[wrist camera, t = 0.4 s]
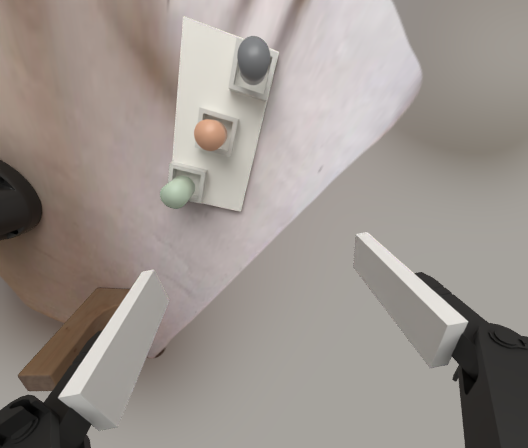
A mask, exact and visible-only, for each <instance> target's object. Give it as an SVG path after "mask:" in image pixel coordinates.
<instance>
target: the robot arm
mask: <svg viewBox="0 0 528 448" xmlns="http://www.w3.org/2000/svg"><path fill="white" fill-rule="evenodd" d="M40 218H41V204H40V201H39V198H38V196H37V194H36V192H35V190H34V189H33V187H32V186H31V185H30V184H29V182H28V181H27V180H26V179H25V178H24V177H23V176H22V175H21V174H20V173H19V172H17V171H16V170H15V169H13V168H12V167H11V166H9V165H8V164H6V163H4V162H3V161H1V160H0V240H4V239H9V238H13V237H16V236H19V235H21V234H23V233H25V232H27V231H29V230H31V229H32V228H34V227H35V226H36V225H37V224H38V222H39V220H40ZM354 252H355V253H354V265H353V266H354V269H355V270H356V271H357V273H358V274H359V275H360V277H361V278H362V279H363V281H364V282H365V283H366V285H367V286H368V287H369V289H370V290H371V291H372V293H373V294H374V295H375V296H376V298H377V299H378V300H379V302H380V303H381V304H382V306H383V307H384V308H385V309H386V311H387V312H388V314H389V315H390V316H391V318H392V319H393V320H394V321H395V323H396V324H397V325H398V327H399V328H400V329H401V331H402V332H403V333H404V335H405V336H406V337H407V339H408V340H409V341H410V343H411V344H412V345H413V346H414V348H415V349H416V350H417V352H418V353H419V354H420V356H421V357H422V358H423V360H424V361H425V362H426V364H427V365H428V366H429V368H434V367H439V366H445V365H448V363H449V361H450V359H451V357H453V358H454V359H455V360H456V361H457V363H458V364H459V366H458V368H457V370H456V371H455V374H454V375H453V380H454V381H457V379H458V377H459V388H460V398H461V408H462V417H463V429H464V439H465V448H528V337H525V336H521V335H519V334H518V333H516V332H514V331H512V330H511V329H509V328H506V327H504V326H501V325H497V324H492V323H488V322H487V321H485V320H484V319H483V318H482V317H480V316H479V315H478V314H477V313H475V312H474V311H473V310H472V309H471V308H469V307H468V306H467V305H466V304H465V303H463V302H462V301H461V300H460V299H458V298H457V297H456V296H455V295H452V293H451V292H450V291H449V290H447V289H446V288H444V287H443V285H441V284H440V283H439V282H438V281H436V280H435V279H434V278H432V277H430V276H428V275H426V274H424V273H422V272H419V273H413V272H412V271H411V270H410V269H408V268H407V267H406V266H405V265H404V264H403V263H402V262H400V261H399V260H398V259H397V258H396V257H395V256H394V255H393V254H391V253H390V252H389V251H388V250H387V249H386V248H385V247H384V246H382V245H381V244H380V243H379V242H378V241H377V240H376V239H374V238H373V237H372V236H371V235H370V234H369V233H368V232H365V233H360V234H356V237H355V251H354ZM169 301H170V300H169V298H168V296H167V294H166V292H165V290H164V288H163V286H162V284H161V282H160V280H159V278H158V276H157V274H156V272H155V270H149V271H144V272H142V273H141V274H140V276H139V277H138V279H137V280H136V282H135V283H134V285H133V286H132V288H131V289H130V291H129V292H128V294H127V295H126V297H125V298H124V300H123V301H122V303H121V304H120V306H119V307H118V309H117V310H116V312H115V313H114V315H113V316H112V318H111V319H110V321H109V322H108V324H107V325H106V327H105V328H104V330H101V331H98V332H97V333H96V334H95V335H93V336H92V337H91V338H90V339H89V340H88V341H87V342H86V344H85V345H84V347H83V348H82V350H81V351H80V352H79V355H77V357H76V358H75V359H74V361H73V362H72V365H70V366H69V368H68V369H67V371H66V372H65V374H64V375H63V376H62V378H61V379H60V381H59V382H58V383H57V385H56V386H55V388H54V389H53V390H52V392H51V393H50V395H49V396H48V398H47V399H46V400H45V402H44V403H43V402H42V401H40V400H39V399H38V398H36V397H35V396H33V395H26V396H22V397H20V398H18V399H16V400H14V401H12V402H11V403H9V404H8V405H7V406H5V407H4V408H3V409H1V410H0V448H91V447H90V440H89V438H88V436H87V435H86V434H87V432H88V430H89V428H90V426H91V425H92V426H93V427H95V428H96V429H97V430H98V431H101V430H106V429H111V428H116V427H118V425H119V423H120V420H121V418H122V415H123V413H124V410H125V408H126V406H127V403H128V401H129V398H130V396H131V393H132V391H133V389H134V386H135V384H136V381H137V379H138V376H139V374H140V371H141V369H142V366H143V364H144V362H145V359H146V357H147V354H148V352H149V349H150V347H151V345H152V342H153V340H154V337H155V335H156V332H157V330H158V328H159V325H160V323H161V320H162V318H163V315H164V313H165V310H166V308H167V306H168V303H169Z"/></svg>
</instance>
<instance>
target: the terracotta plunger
mask: <svg viewBox="0 0 528 448" xmlns="http://www.w3.org/2000/svg"><path fill="white" fill-rule="evenodd" d="M194 137H195V140H196V142H197V144H198V145H199V146H200V147H201V148H202V149H204V150H207V151H214V150H217V149H218V148H220V147H221V146H222V145H223V144H224V143H225V141H226V139H227V130H226V128H225V126H224V125H223V124H222V123H221V122H219V121H217V120H209V119H205V120H202V121H200V122H199V123H198V124H197V125H196V127H195V129H194Z"/></svg>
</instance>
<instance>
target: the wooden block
mask: <svg viewBox="0 0 528 448" xmlns="http://www.w3.org/2000/svg"><path fill="white" fill-rule="evenodd" d="M129 291H130V289H115V288H97V289H96V290H95V291H94V292H93V293H92V294H91V295H90V296H89V297H88V298H87V300H86V301H85V302H84V303H83V304H82V305H81V306H80V307H79V308H78V309H77V310H76V312H75V313H74V314H73V315H72V316H71V317H70V318H69V319H68V320H67V321H66V323H65V324H64V325H63V326H62V327H61V328H60V329H59V330H58V331H57V332H56V333H55V335H54V336H53V337H52V338H51V339H50V340H49V341H48V342H47V343H46V345H45V346H44V347H43V348H42V349H41V350H40V351H39V352H38V353H37V355H35V356H34V358H33V359H32V360H31V361H30V362H29V363H28V364H27V365H26V366H25V367H24V369H23V370H22V371H21V372H20V373H19V375H18V378H19V379H20V380H21V382H22V383H23V385H24V386H25V388H26V389H27V390H28V391H52V390H53V389H54V388H55V386H56V385H57V383H58V382H59V381H60V379H61V378H62V376H63V375H64V374H65V372H66V371H67V369H68V368H69V366H70V365H72V362H73V361H74V359H75V358H76V357H77V355H79V352H80V351H81V350H82V348H83V347H84V345H85V344H86V342H87V341H88V340H89V339H90V338H91V337H92V336H93V335H95V334H96V333H97V332H98V331H101V330H103V329H104V328H105V327H106V325H107V324H108V322H109V321H110V319H111V318H112V316H113V315H114V313H115V312H116V310H117V309H118V307H119V306H120V304H121V303H122V301H123V300H124V298H125V297H126V295H127V294H128V292H129Z"/></svg>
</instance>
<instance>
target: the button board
mask: <svg viewBox="0 0 528 448" xmlns="http://www.w3.org/2000/svg"><path fill="white" fill-rule="evenodd" d="M243 40H244V39H243V38H241V37H238V36H236V35H233V34H230V33H228V32H225V31H222V30H220V29H217V28H214V27H212V26H209V25H206V24H204V23H201V22H198V21H196V20H193V19H190V18H188V17H185V16H183V27H182V40H181V53H180V66H179V80H178V93H177V106H176V119H175V132H174V145H173V158H172V162H171V163H169V177H168V183H169V182H170V181H172V180H173V179H174V178H176V177H177V176H181V175H183V176H187V177H189V178H190V179H192V181H193V182H194V184H195V192H194V194H193V195H192V196H191V197H190V199H189V200H188V201H190V202H195V203H200V204H201V203H203V204H208V205H212V206H217V207H221V208H226V209H230V210H235V211H240V212H241V209H242V205H243V200H244V196H245V192H246V188H247V184H248V180H249V175H250V171H251V167H252V163H253V159H254V155H255V150H256V146H257V142H258V138H259V134H260V130H261V125H262V121H263V117H264V113H265V109H266V105H267V100H268V96H269V92H270V88H271V84H272V79H273V75H274V71H275V67H276V63H277V59H278V54H279V52H278V51H275V50H273V49H270V48H269V51H270V65H269V68H268V70H267V73H266V76H265V78H264V79H263V81H262V82H261V83H259V84H257V85H249V84H247V83H246V82H245V81H244V80H243V79H242V77H241V75H240V72H239V66H238V59H237V53H238V49H239V46H240V44H241V43H242V41H243ZM205 119H209V120H217V121H219V122H221V123H222V124H223V125H224V126H225V128H226V130H227V139H226V141H225V143H224V144H223V145H222V146H221V147H220V148H218V149H217V150H214V151H207V150H204V149H202V148H201V147H200V146H199V145H198V144H197V142H196V140H195V137H194V129H195V127H196V125H197V124H198V123H199V122H200V121H202V120H205Z"/></svg>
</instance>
